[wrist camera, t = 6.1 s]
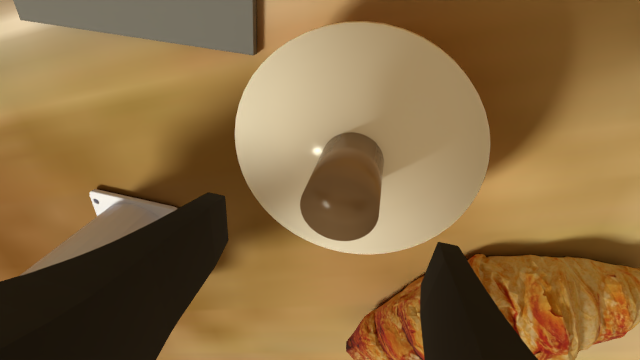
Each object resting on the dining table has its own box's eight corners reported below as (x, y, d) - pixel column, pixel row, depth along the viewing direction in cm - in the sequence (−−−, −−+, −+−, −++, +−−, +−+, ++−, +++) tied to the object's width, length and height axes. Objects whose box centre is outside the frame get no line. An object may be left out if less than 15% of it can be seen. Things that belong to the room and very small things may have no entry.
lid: (450, 260, 18) (464, 337, 14) (252, 227, 20) (215, 287, 16) (527, 28, 12) (592, 51, 8) (227, 14, 14) (156, 27, 10)
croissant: (607, 196, 22) (674, 219, 14) (683, 339, 20) (797, 442, 13) (342, 280, 31) (302, 320, 23) (386, 382, 30) (359, 458, 22)
